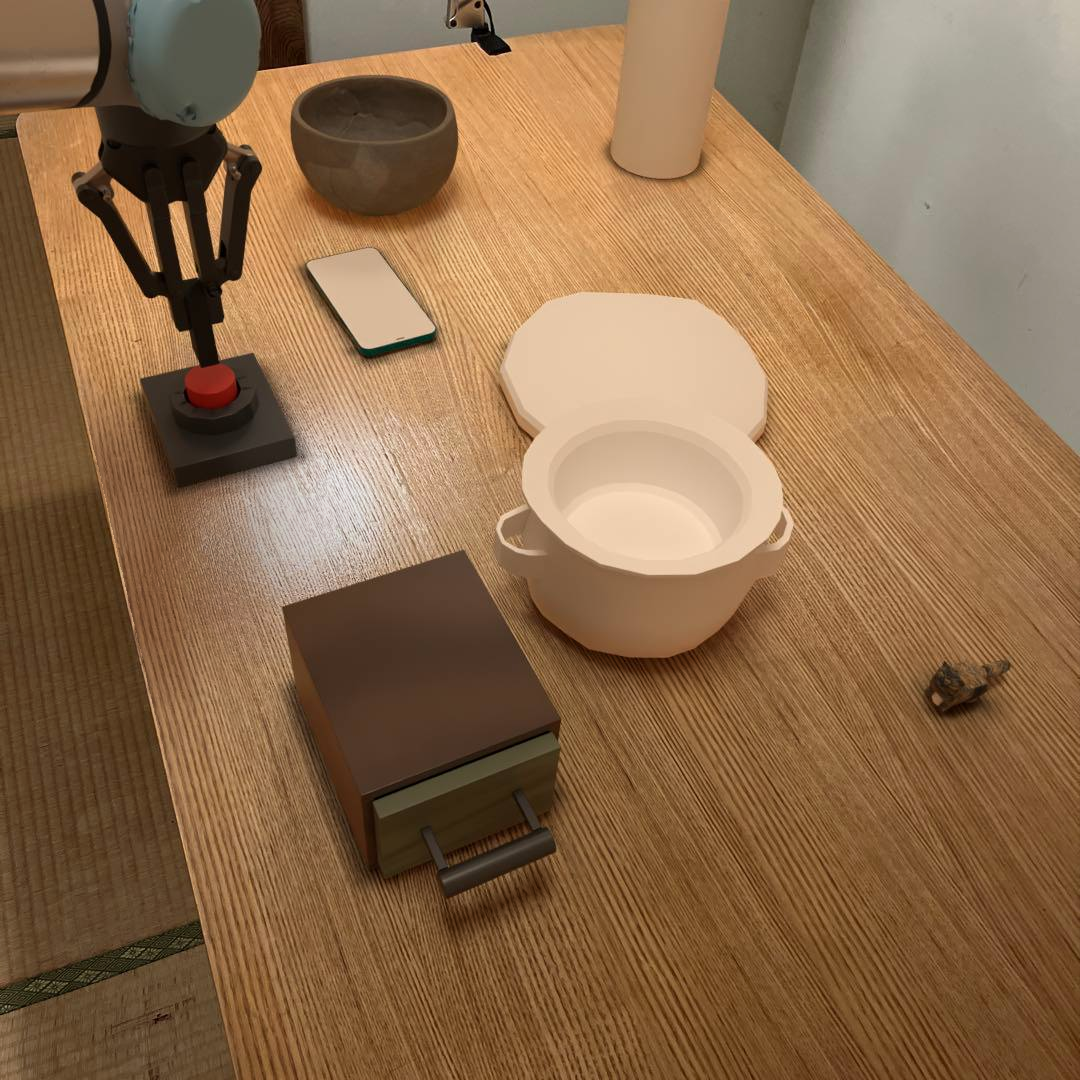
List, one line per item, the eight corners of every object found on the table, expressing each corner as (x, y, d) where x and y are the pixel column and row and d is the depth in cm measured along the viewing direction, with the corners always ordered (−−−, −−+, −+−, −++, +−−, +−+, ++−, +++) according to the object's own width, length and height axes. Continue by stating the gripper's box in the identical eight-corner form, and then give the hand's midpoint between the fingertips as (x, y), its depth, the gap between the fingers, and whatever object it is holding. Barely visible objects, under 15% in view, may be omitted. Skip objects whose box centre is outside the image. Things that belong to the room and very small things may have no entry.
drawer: (582, 869, 67) (596, 808, 61) (411, 944, 63) (408, 888, 57) (467, 654, 77) (469, 585, 72) (314, 707, 73) (303, 639, 68)
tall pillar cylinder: (716, 157, 130) (762, -67, 112) (664, 189, 124) (704, -43, 106) (645, 125, 134) (679, -97, 116) (592, 154, 129) (618, -74, 110)
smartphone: (302, 269, 109) (362, 360, 100) (301, 261, 108) (362, 351, 99) (376, 253, 112) (441, 339, 103) (375, 245, 111) (440, 331, 102)
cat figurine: (903, 695, 78) (931, 659, 76) (976, 672, 82) (1005, 638, 79) (928, 725, 77) (957, 690, 74) (1001, 700, 81) (1031, 666, 78)
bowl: (334, 141, 126) (327, 56, 119) (478, 172, 124) (480, 86, 117) (270, 215, 115) (258, 126, 108) (427, 250, 113) (427, 161, 105)
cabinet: (549, 797, 71) (561, 718, 64) (368, 872, 67) (360, 796, 60) (461, 634, 80) (464, 549, 72) (296, 691, 75) (281, 606, 68)
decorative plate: (501, 268, 104) (753, 280, 106) (499, 303, 107) (744, 315, 109) (499, 444, 88) (798, 456, 89) (497, 480, 91) (786, 491, 92)
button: (195, 414, 88) (191, 398, 87) (182, 385, 90) (179, 369, 89) (243, 403, 90) (240, 386, 88) (230, 374, 92) (227, 358, 91)
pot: (737, 503, 91) (771, 392, 82) (798, 672, 79) (845, 564, 70) (478, 517, 88) (483, 403, 79) (503, 695, 76) (512, 586, 67)
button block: (177, 488, 87) (168, 452, 85) (144, 397, 94) (134, 361, 91) (297, 456, 91) (292, 420, 88) (256, 371, 98) (250, 335, 95)
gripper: (51, 108, 65) (134, 404, 83) (262, 78, 70) (298, 365, 87) (30, 55, 70) (113, 347, 87) (231, 30, 74) (271, 312, 91)
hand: (206, 355), depth 87 cm, fingers closed
